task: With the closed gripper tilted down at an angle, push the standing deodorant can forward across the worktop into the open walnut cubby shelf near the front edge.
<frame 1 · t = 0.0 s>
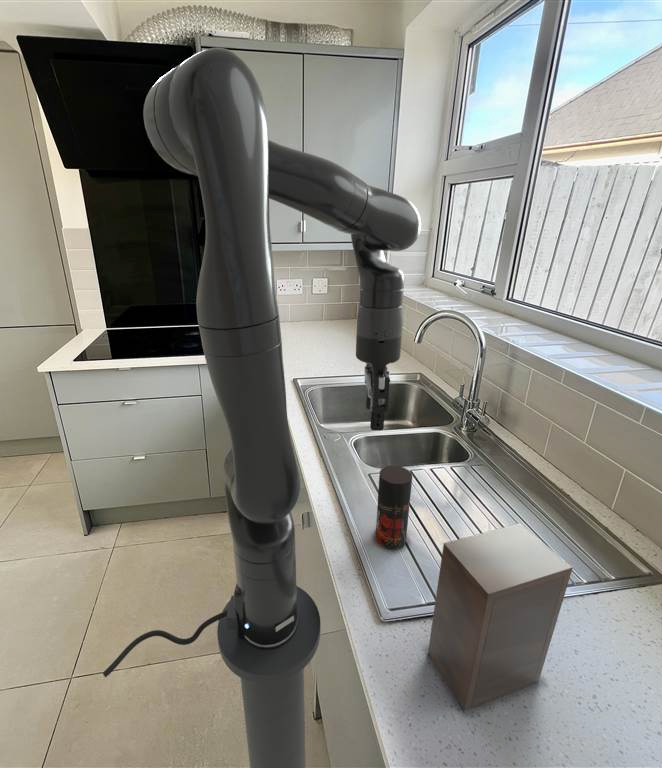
hand: (374, 418, 74), 25 cm above the countertop, tool pointing down, fingers open, 8 cm apart
deodorant: (390, 539, 80), on the countertop
shelf: (478, 662, 57), on the countertop
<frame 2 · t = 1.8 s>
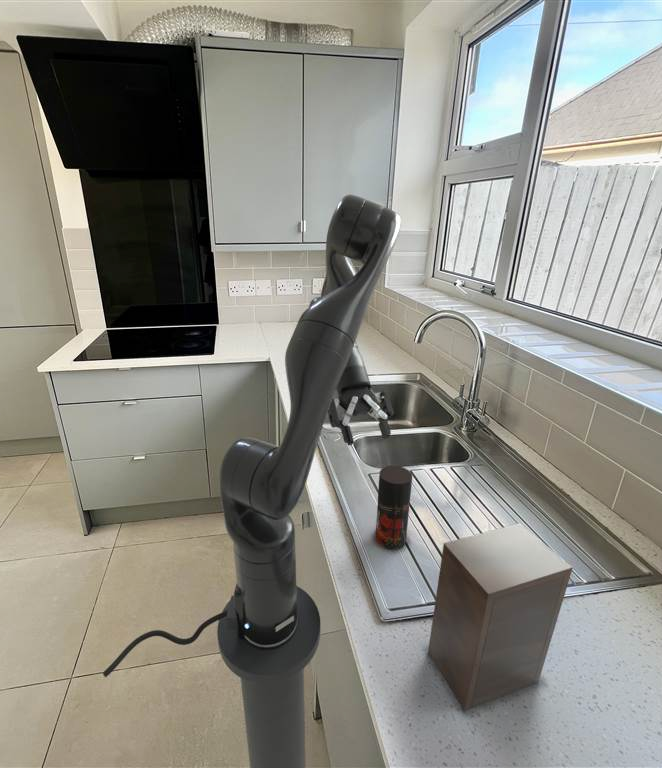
hand: (369, 441, 85), 16 cm above the countertop, tool tilted 45°, fingers open, 7 cm apart
nothing on the countertop moved.
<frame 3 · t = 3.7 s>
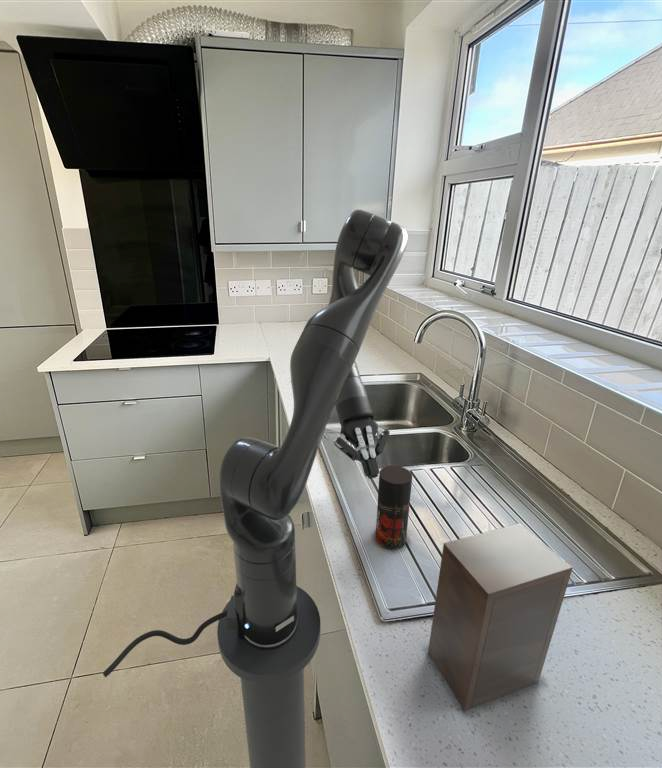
hand: (373, 477, 85), 9 cm above the countertop, tool tilted 45°, fingers closed
nothing on the countertop moved.
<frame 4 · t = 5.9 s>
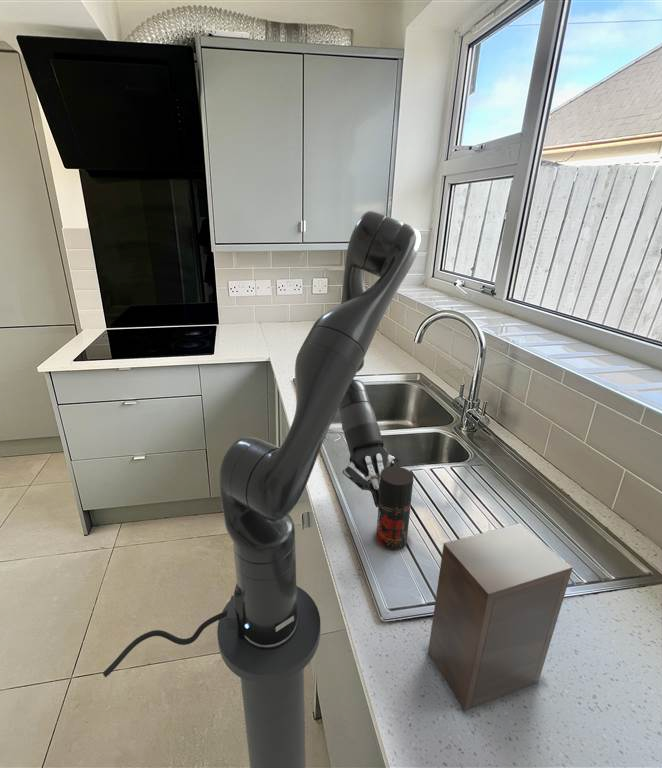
hand: (384, 508, 81), 5 cm above the countertop, tool tilted 45°, fingers closed
deodorant: (391, 540, 80), on the countertop, touching gripper
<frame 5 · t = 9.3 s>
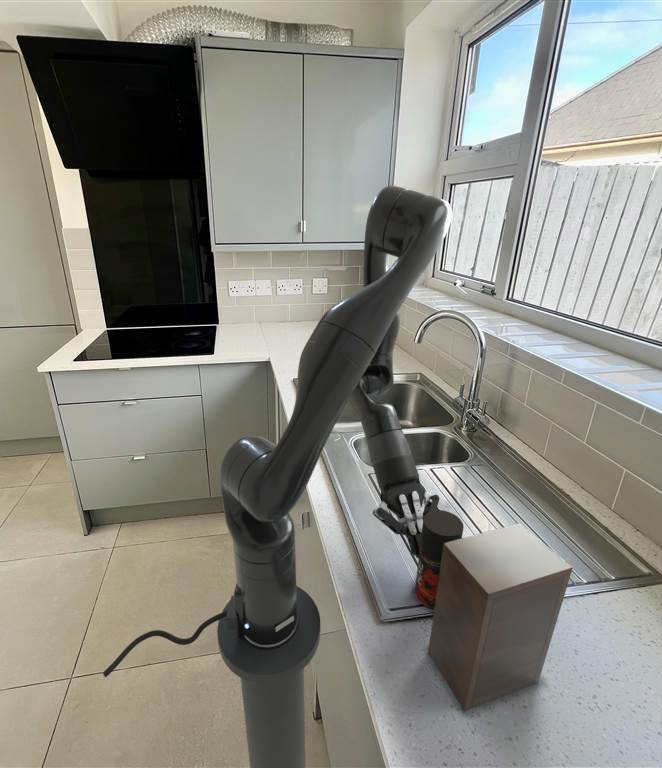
hand: (422, 557, 69), 5 cm above the countertop, tool tilted 45°, fingers closed
deodorant: (432, 595, 68), on the countertop, touching gripper
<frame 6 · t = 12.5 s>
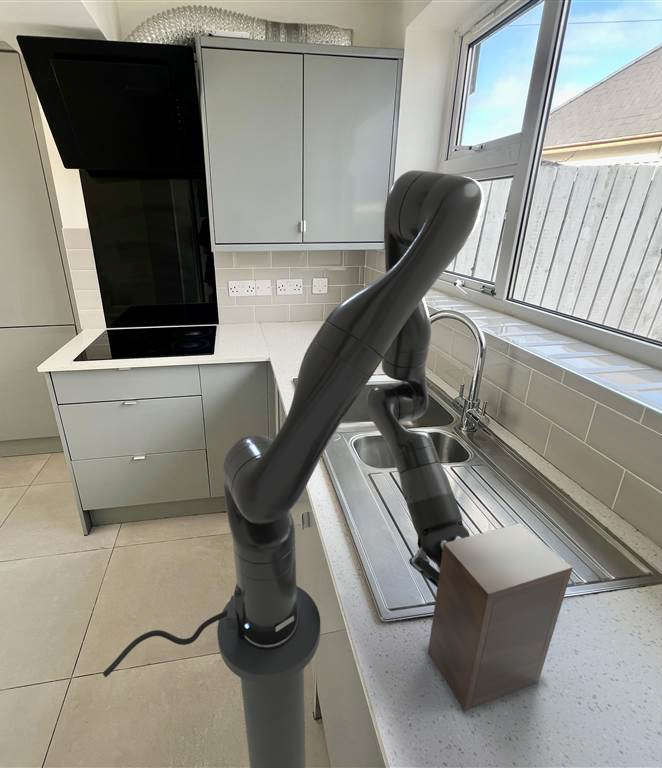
hand: (469, 615, 59), 5 cm above the countertop, tool tilted 45°, fingers closed
deodorant: (483, 661, 58), on the countertop, touching gripper
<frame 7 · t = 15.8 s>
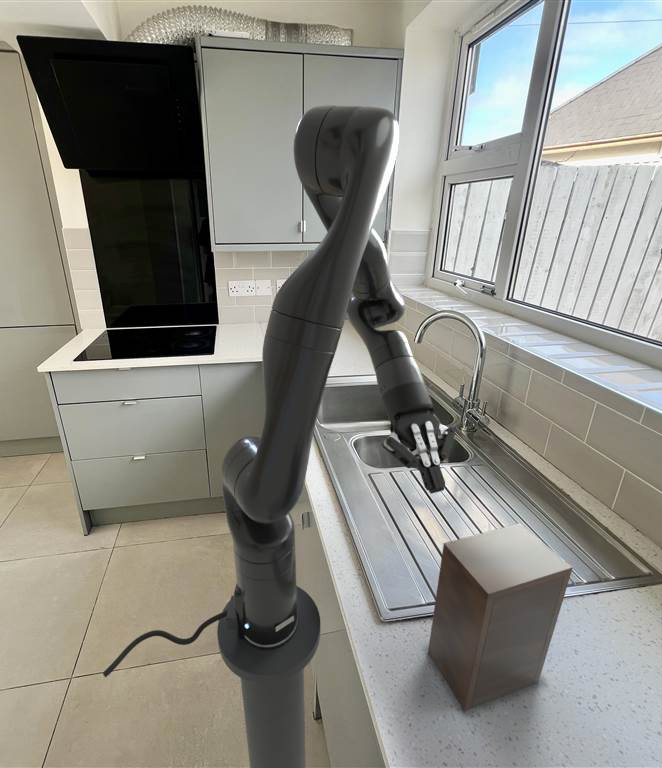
hand: (437, 491, 62), 20 cm above the countertop, tool tilted 45°, fingers closed
deodorant: (483, 661, 58), on the countertop
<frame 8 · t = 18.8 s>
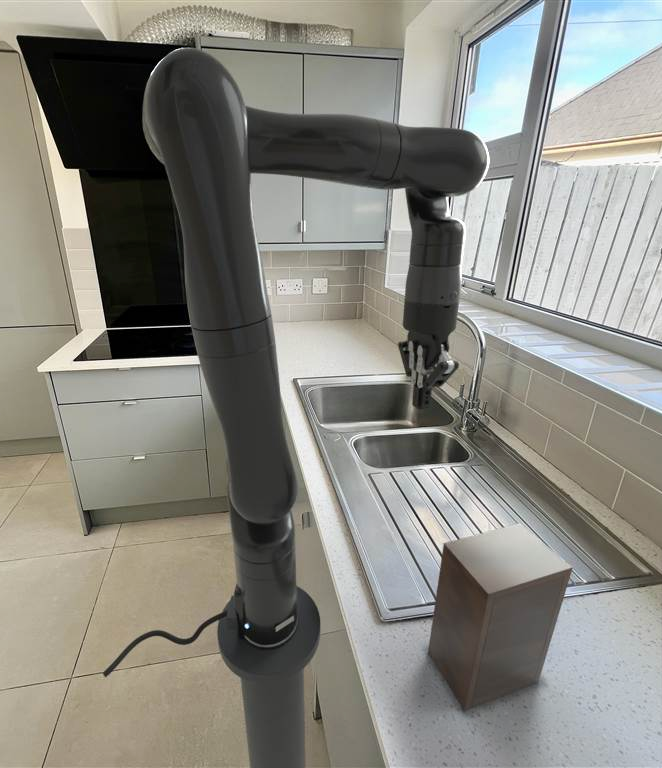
hand: (420, 407, 64), 31 cm above the countertop, tool pointing down, fingers closed
nothing on the countertop moved.
at the end: deodorant 0.8 cm from the shelf (horizontally); deodorant tilted 0°; deodorant moved 25.7 cm from its start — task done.
